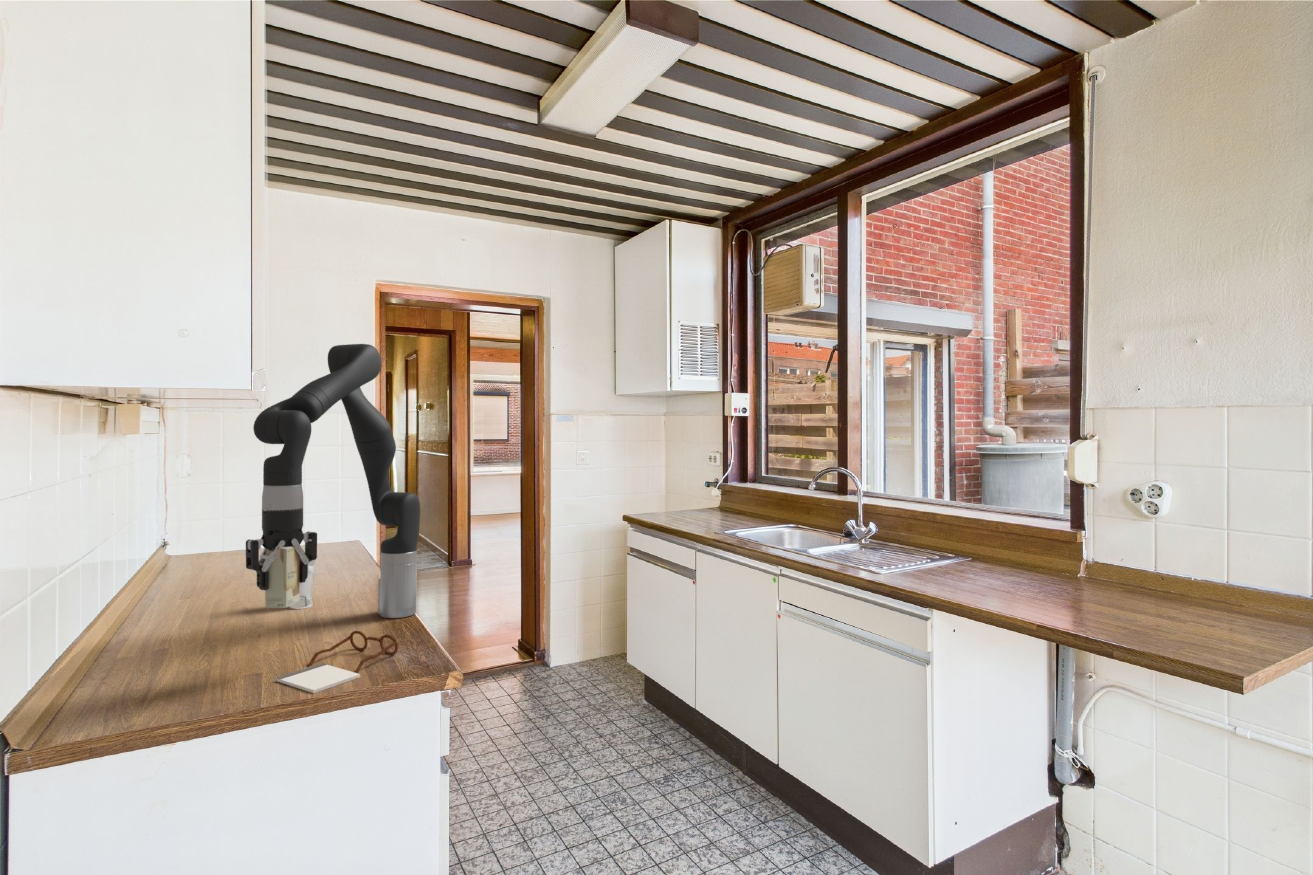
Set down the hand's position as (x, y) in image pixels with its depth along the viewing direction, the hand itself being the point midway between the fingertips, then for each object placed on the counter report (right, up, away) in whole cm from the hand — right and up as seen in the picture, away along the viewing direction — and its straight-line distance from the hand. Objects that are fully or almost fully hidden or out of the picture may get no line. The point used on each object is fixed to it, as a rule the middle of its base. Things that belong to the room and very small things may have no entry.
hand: (282, 585), depth 140 cm
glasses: (+12, -18, +7) cm, 23 cm away
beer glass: (-23, -17, +52) cm, 59 cm away
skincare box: (0, -4, 0) cm, 4 cm away
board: (+10, -18, -5) cm, 21 cm away
